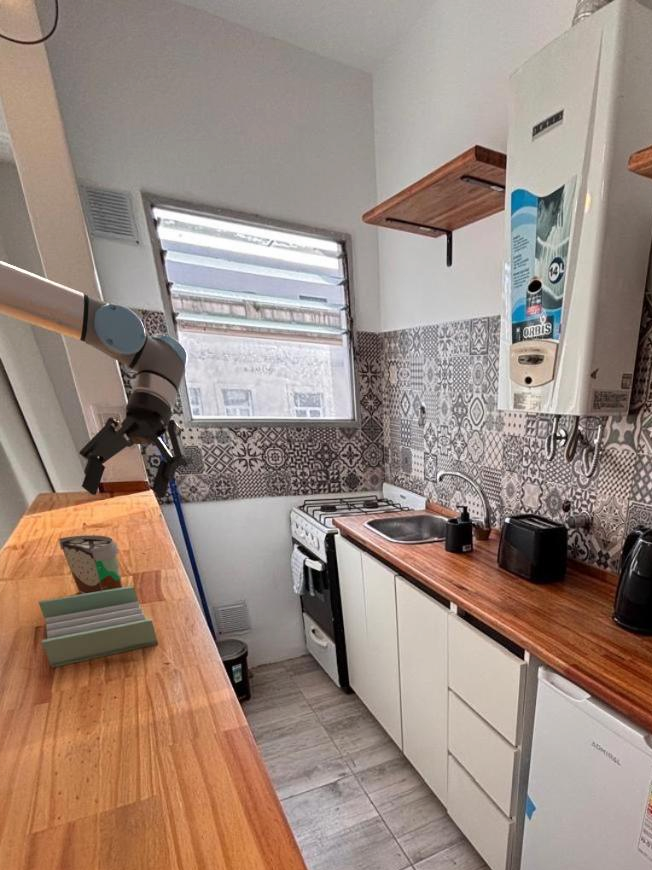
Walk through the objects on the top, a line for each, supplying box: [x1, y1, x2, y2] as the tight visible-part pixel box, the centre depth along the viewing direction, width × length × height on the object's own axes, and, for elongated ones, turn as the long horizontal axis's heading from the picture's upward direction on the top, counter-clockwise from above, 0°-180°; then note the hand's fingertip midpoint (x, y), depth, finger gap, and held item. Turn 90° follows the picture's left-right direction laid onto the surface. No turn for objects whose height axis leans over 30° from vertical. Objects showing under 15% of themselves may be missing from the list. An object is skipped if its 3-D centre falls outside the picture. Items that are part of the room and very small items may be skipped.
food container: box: [58, 534, 123, 594], centre depth 94 cm, size 12×6×10 cm, turn 59°
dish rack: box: [38, 585, 159, 669], centre depth 80 cm, size 18×13×4 cm
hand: (123, 492), depth 99 cm, fingers open, 13 cm apart
